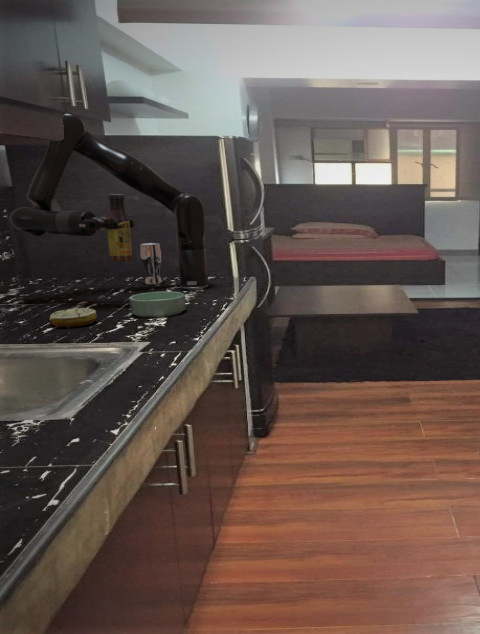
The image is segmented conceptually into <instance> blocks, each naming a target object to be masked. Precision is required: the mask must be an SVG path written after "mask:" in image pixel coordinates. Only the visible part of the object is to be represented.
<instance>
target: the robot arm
mask: <svg viewBox="0 0 480 634" xmlns="http://www.w3.org/2000/svg"><path fill="white" fill-rule="evenodd" d="M64 113H65V114H64V115H63V125H64V139H63V140H61V141H50V140H49V142H48V145H47V148H46V151H45V153H44V156H43V158H42V160H41V162H40V164H39V166H38V168H37V169H36V172H35V174H34V176H33V178H32V181H31V183H30V185H29V188H28V190H27V193H26V199H27V200H28V201H29V202H31V204H32V207H27V206H23V207H18V208H15V209H14V210H13V211H12V212H11V213H10V215H9V221H10V224H11V226H12V227H14V228H15V229H17V230H18V231H21V232H23V233H25V234H29V235H31V236H35V237H41V236H44V235H45V234H47V233H48V234H50V235H64V236H65V235H66V236H74V237H75V236H79V237H80V236H81V237H92V236H94V235H95V234H96V233H97V232H99V231H100V232H101V231H105V230H107V229H118V228H119V225H118V222H115V221H107V217H105V216H96V214H95V213H94V212H93V211H90V210H53V203H54V200H55V199H56V195H57V194H58V191H59V188H60V185H61V183H62V180H63V176H64V173H65V170H66V167H67V165H68V162H69V160H70V158H71V156H72V154H73V152H74V153H77V154H79V155H81V156H83V157H85V158H87V159H88V160H90V161H91V162H93V164H96V165H97V166H98V167H99V168H101V169H102V170H104V171H105V172H106V173H108V174H110V175H111V176H112V177H114V178H115V179H117V180H119V182H120V181H121V182H122V183H123V184H125V185H126V186H128V187H129V188H131V189H133V190H134V191H137V192H139V193H141V194H142V195H144V196H146V197H149V198H151V199H153V200H155V201H156V202H157V203H159V204H161V205H162V206H164V207H165V208H166V209H168V210H169V211H170V212H172V214H174V215H175V216H176V217H175V218H176V247H177V259H178V270H179V282H180V287H179V288H180V289H181V290H185V291H197V290H204V289H207V288H209V283H210V282H209V271H208V269H209V268H208V261H207V254H206V242H205V241H206V240H205V234H206V221H205V209H204V204H203V202H202V200H201V199H200V198H198V197H197V196H195V195H192V194H188V193H186V192H184V191H183V190H180V189H179V188H176V187H175V186H173V185H172V184H170V183H169V182H167V181H166V180H165V179H164V178H163V177H162V176H160V175H159V173H157V172H156V171H155V170H153V169H152V168H151V167H149V166H148V165H147V164H146V163H144V162H143V161H141V159H138V158H136V157H135V156H133V155H132V154H130V153H128V152H126V151H124V150H122V149H121V148H118V147H115V146H112V145H110V144H108V143H106V142H104V141H102V140H100V139H99V138H97V137H96V136H95V135H93V134H92V133H90V132H89V131H88V130H87V129H86V126H85V123H84V121H83V120H82V119H81V117H79V116H78V115H76V114H74V113H72V114H69V113H70V112H64ZM129 221H130V229H131V228H134V227H135V224H134V223H135V222H134V220H133V219H129Z"/></svg>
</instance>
